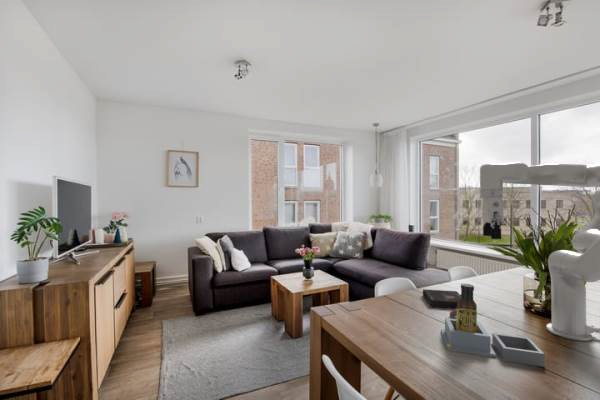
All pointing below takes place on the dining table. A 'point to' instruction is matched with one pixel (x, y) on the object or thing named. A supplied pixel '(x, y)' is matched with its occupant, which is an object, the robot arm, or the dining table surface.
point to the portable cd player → (441, 298)
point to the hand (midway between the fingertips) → (491, 237)
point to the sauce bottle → (466, 310)
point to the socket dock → (467, 339)
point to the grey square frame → (518, 349)
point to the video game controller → (453, 313)
